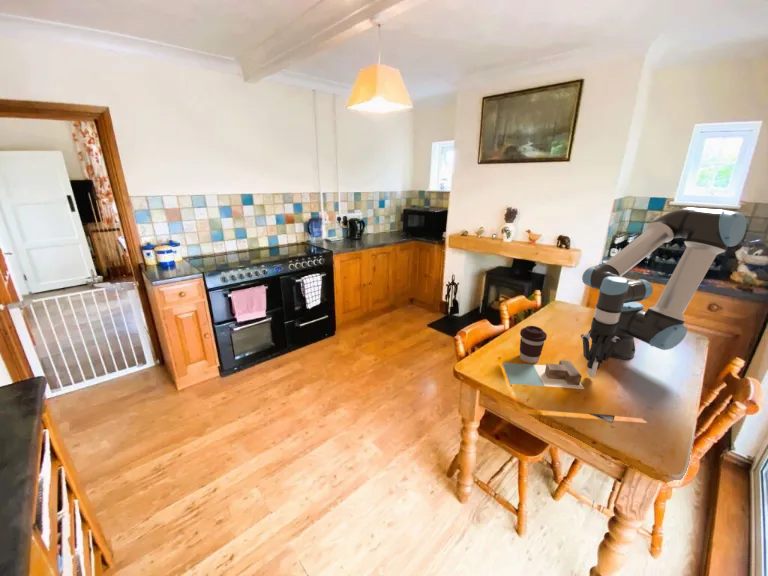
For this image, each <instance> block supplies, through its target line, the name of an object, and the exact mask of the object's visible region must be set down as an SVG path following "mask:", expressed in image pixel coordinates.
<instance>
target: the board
mask: <svg viewBox="0 0 768 576" xmlns="http://www.w3.org/2000/svg"><path fill="white" fill-rule="evenodd" d="M502 367H503V370H504V373H505V375H506V378H507V380H508V383H509V386H510V387H512V385H521V386H522V385H523V386H538V387H548V388H549V387H551V388H553V387H554V388H565V389H575V390H576V389H577V390H578V389H579V390H585V388H584V386H583V385H582V383H581V382H580V385H568V384H567V382H566V381H565V380H564V379H549V378H548V377H547V375H546V373H545V369H546V365H545V364H531V363H529V364H528V363H515V362H513V363H511V362H502Z"/></svg>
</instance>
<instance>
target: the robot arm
mask: <svg viewBox="0 0 768 576" xmlns="http://www.w3.org/2000/svg"><path fill="white" fill-rule="evenodd" d="M746 229H747V219H746V217H745V216H744V214H742V213H741V212H739V211H732V210H727V209H713V208H701V207H695V206H694V207H693V206H690V207H683V208H679V209H675V210H673V211H672V210H671V211H670V212H668V213H665V214H663V215H661V216H659V217H658V218H656V219H655V220H653V221H652V222H651V223H649V224H648V226H647V228H646V230H644V232H642V233H641V234H640V235H639V236H638V237H636V238H635V239H633V240H632V241H631V242H630V243H628V244H627V245H626V246H624V248H622V249H621V250H620V251H618V252H617V253H616V254H615V255H613V256H612V257H611V258H610V259H609V260H607V261H606V262H605V263H603V264H602V265H601V266H599V267H588V268H586V269H585V270H584V272H583V274H582V276H581V280H582V283H583V284H584V285H586V286H587V287H589V288H592V289H595V290H598V291H599V292H598V293H599V294H598V298H597V301H596V305H595V308H594V313H593V318H592V321H591V324H590V329H589V330H588V333H586V334H584V333H583V334H580V338H581V339H582V351H583V352H582V353H583V357H584V358H585V359H586V361H587V364H586V367H587V370H586V371H587V372H586V373H587V375H588V376H589V377H590V378H595V376H596V373H597V370H599V369H600V367H601V364H602V365H603V363H604V362H608V360H609V359H610V357H612V358H615V359H620V360H621V359H622V360H625V359H626V360H627V359H628V360H629V359H631V358H632V359H633V357H635V354H636V346H635V345H636V344H635V339H636V340H640V341H641V342H644V343H646V344H648V345H649V346H651V347H655V348H657V349H660V350H662V351H666V350H667V351H668V350H671V349H673V348H675V347H677V346H678V345H679V344H680V343H682V341H683V340H684V339H685V338H686V336H687V333H688V327H687V326H686V325H685V321H686V319H685V317H684V313H685V312H686V310H687V308H688V306H689V304H690V303H691V301H692V299H693V297H694V295H695V294H696V292H697V290H698V289H699V287H700V285H701V283H702V281H703V280H704V278H705V276H706V274H707V273H708V272H709V269H710V268H711V266H712V264H713V262H714V261H715V259H716V258H717V256H718V255H719V254H721V253H725V252H726V251H727V249H728V247H730V248H731V247H735V246H737V245H739V243H740V242H741V241H742V240H743V238H744V236H745V234H746ZM679 238H681V239H685V240H684V241H683V243H684V244H685V246H686V248H685V250H684V251H683V254H682V255H681V258H680V259H679V261H678V263H677V265H676V266H675V268H674V270H673V272H672V273H671V276H670V278H669V279H668V281H667V283H666V285H665V287H664V289H663V291H662V293H661V294H660V296H659V297H658V299H657V302H656V304H655V305H653V306H650V307H648V309H647V310H644V309H645V307H644V305H643V304H642V303H641V301H644V300H646V299H649V298H651V296H652V295H653V291H654V288H653V285H652V284H651V282H650V281H648V280H646V279H643V278H642V279H641V278H639V279H638V278H636V279H632V278H628V277H625V276H624V275H625V274H626V273H628V272H629V271H631V269H633V268H634V267H635V266H637V265H638V264H639V263H640V262H641V261H642V260H644V259H645V258H647V256H649V255H651V254H652V253H653V252H655V250H656V249H658V248H660V247H661V246H662V245H663V244H665V243H670V242H671V241H672V240H674V239H679ZM590 339H591V343H590ZM590 344H591V345H590Z"/></svg>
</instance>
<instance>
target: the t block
mask: <svg viewBox="0 0 768 576" xmlns="http://www.w3.org/2000/svg"><path fill="white" fill-rule="evenodd" d="M545 373H546V375H547V377H548V378H549V379H564V380H565V381H566V382H567V384H568V385H580V383H581V380H582V378H583V377H582V374H581V373H580V372H579V370H578V369H577V368H576V366H575V365H574V364H573V363H572V361H571V360H559V362H558V363H557V364H556V363H546V369H545Z"/></svg>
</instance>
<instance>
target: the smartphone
mask: <svg viewBox="0 0 768 576" xmlns="http://www.w3.org/2000/svg"><path fill="white" fill-rule="evenodd" d="M588 415H589V416H593V417H595V418H597V419H600V420H603V421H605V422H607V423H611V424H612V423H614V422H615V421H614V420H615V417H616V416H615V414H614V415H611V414H600V413H588Z"/></svg>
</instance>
